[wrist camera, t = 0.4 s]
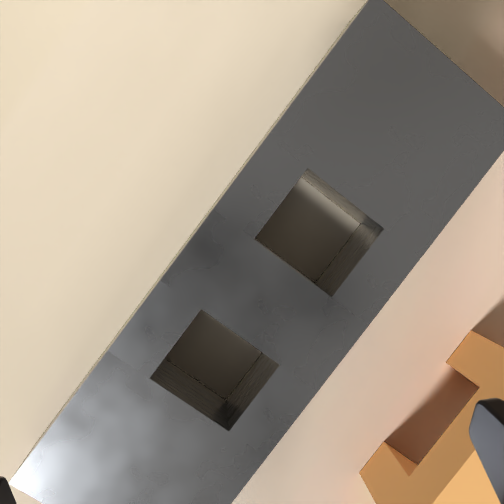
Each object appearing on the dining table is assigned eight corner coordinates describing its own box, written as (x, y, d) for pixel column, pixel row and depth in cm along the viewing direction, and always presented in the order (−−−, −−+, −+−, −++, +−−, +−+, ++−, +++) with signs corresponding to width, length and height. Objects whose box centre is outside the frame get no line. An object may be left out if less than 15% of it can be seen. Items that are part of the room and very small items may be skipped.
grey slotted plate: (350, 20, 21) (374, -8, 18) (481, 133, 22) (523, 124, 19) (34, 444, 22) (8, 483, 19) (175, 531, 23) (171, 580, 21)
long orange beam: (513, 350, 24) (593, 391, 19) (390, 506, 24) (437, 585, 20) (477, 322, 24) (549, 356, 19) (353, 480, 24) (391, 555, 19)
